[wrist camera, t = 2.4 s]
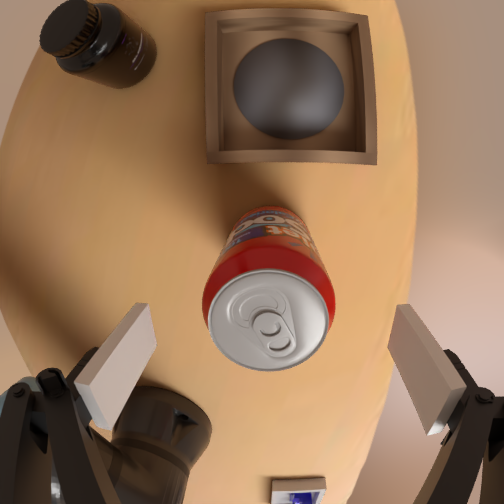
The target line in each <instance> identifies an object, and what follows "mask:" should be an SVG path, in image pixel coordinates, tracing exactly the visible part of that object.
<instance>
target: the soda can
mask: <svg viewBox="0 0 504 504" xmlns="http://www.w3.org/2000/svg"><path fill="white" fill-rule="evenodd" d="M202 311H203V317H204V320H205V323H206V326H207V328H208V330H209V332H210V335H211V338H212V340H213V342H214V343H215V345H216V346H217V348H218V349H219V350H220V351H221V352H222V353H223V354H224V355H225V356H226V357H227V358H228V359H230V360H231V361H233V362H234V363H236V364H238V365H240V366H243V367H245V368H248V369H252V370H257V371H280V370H285V369H289V368H292V367H294V366H297V365H299V364H301V363H303V362H304V361H306V360H307V359H309V358H310V357H311V356H312V355H313V354H314V353H315V352H316V351H317V350H318V349H319V348H320V346H321V345H322V343H323V341H324V339H325V337H326V334H327V333H328V331H329V329H330V327H331V325H332V322H333V319H334V315H335V293H334V289H333V286H332V283H331V280H330V278H329V276H328V273H327V271H326V269H325V266H324V264H323V262H322V259H321V257H320V255H319V253H318V250H317V248H316V246H315V244H314V241H313V239H312V237H311V235H310V233H309V230H308V228H307V227H306V225H305V224H304V222H303V221H302V220H301V219H300V218H299V217H298V216H297V215H296V214H294V213H293V212H291V211H289V210H287V209H285V208H282V207H277V206H263V207H258V208H255V209H253V210H251V211H249V212H247V213H246V214H245V215H243V216H242V217H241V218H240V219H239V220H238V221H237V223H236V224H235V226H234V227H233V229H232V231H231V233H230V235H229V237H228V239H227V241H226V243H225V245H224V247H223V249H222V251H221V253H220V255H219V257H218V259H217V261H216V263H215V265H214V267H213V269H212V272H211V274H210V276H209V278H208V280H207V283H206V285H205V288H204V292H203V298H202Z"/></svg>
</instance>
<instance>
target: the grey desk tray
mask: <svg viewBox="0 0 504 504" xmlns="http://www.w3.org/2000/svg"><path fill="white" fill-rule="evenodd" d="M325 491H326V480H325V478H314V479H293V480H273V482H272V497H271V504H292V501H289V495H290V494H291V493H305V492H311V493H312V504H320V503H321V500H322V498H323V496H324V493H325Z"/></svg>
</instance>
